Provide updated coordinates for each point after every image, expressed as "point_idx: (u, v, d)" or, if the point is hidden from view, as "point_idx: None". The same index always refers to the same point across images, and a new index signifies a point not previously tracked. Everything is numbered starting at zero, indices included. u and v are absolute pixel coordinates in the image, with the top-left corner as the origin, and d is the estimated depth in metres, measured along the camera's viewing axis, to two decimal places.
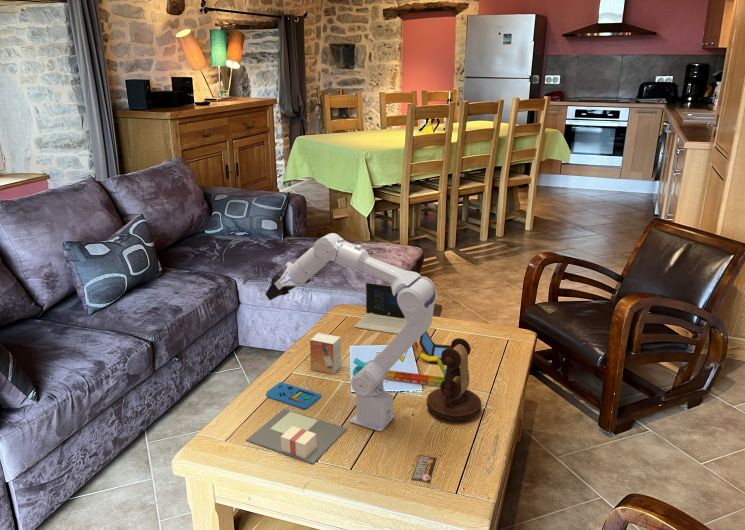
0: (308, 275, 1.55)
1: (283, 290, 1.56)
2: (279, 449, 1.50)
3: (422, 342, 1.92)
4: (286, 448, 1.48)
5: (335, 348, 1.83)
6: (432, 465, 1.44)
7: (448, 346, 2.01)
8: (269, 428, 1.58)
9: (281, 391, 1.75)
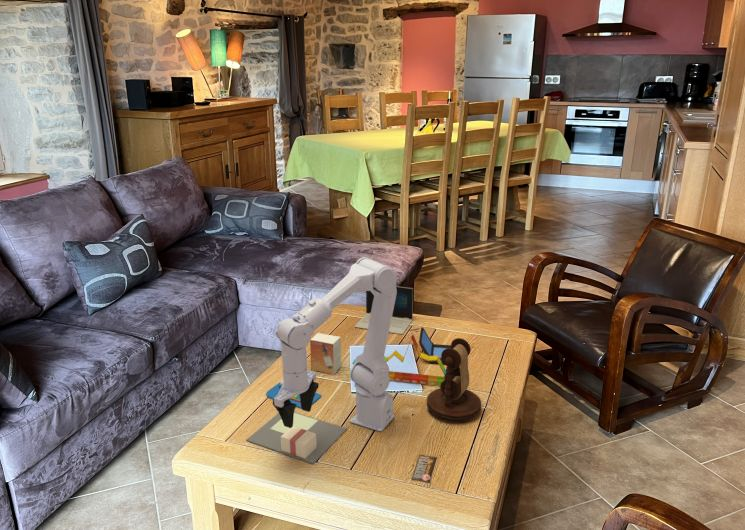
0: (299, 374, 1.40)
1: (288, 406, 1.39)
2: (279, 449, 1.50)
3: (422, 343, 1.91)
4: (286, 448, 1.48)
5: (335, 348, 1.83)
6: (432, 465, 1.44)
7: (447, 346, 2.01)
8: (269, 428, 1.58)
9: None
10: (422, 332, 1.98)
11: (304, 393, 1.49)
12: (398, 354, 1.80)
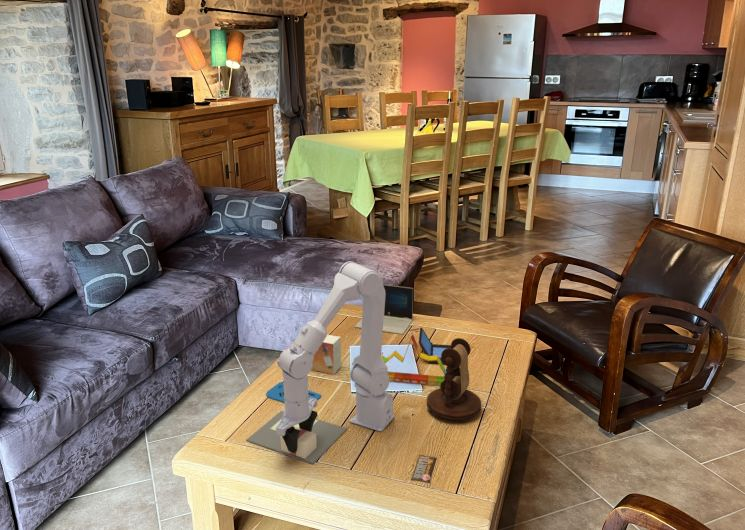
0: (300, 403, 1.43)
1: (292, 432, 1.43)
2: (279, 449, 1.50)
3: (421, 343, 1.91)
4: (286, 448, 1.48)
5: (335, 348, 1.83)
6: (432, 465, 1.44)
7: (446, 346, 2.01)
8: (269, 428, 1.58)
9: (281, 391, 1.75)
10: (421, 332, 1.97)
11: (303, 422, 1.50)
12: (398, 354, 1.80)
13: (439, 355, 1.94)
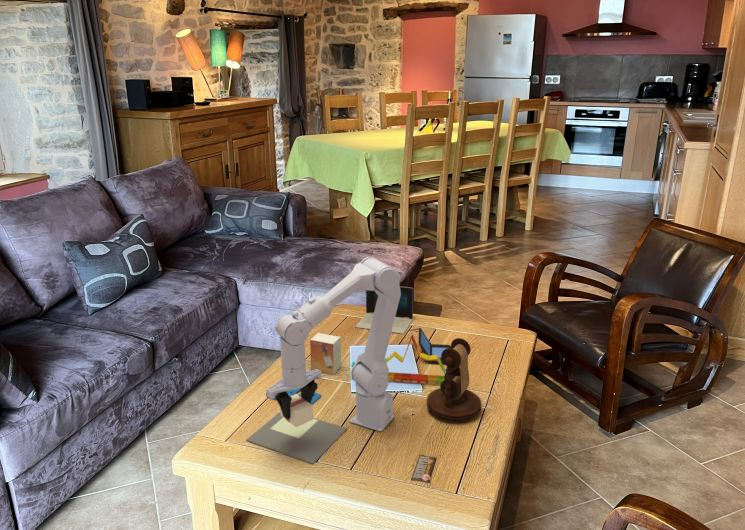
0: (293, 370, 1.43)
1: (283, 397, 1.44)
2: (279, 449, 1.50)
3: (421, 343, 1.91)
4: None
5: (335, 348, 1.83)
6: (432, 465, 1.44)
7: (445, 345, 2.01)
8: (269, 428, 1.58)
9: None
10: (420, 332, 1.97)
11: (304, 391, 1.50)
12: (397, 355, 1.80)
13: (438, 355, 1.94)
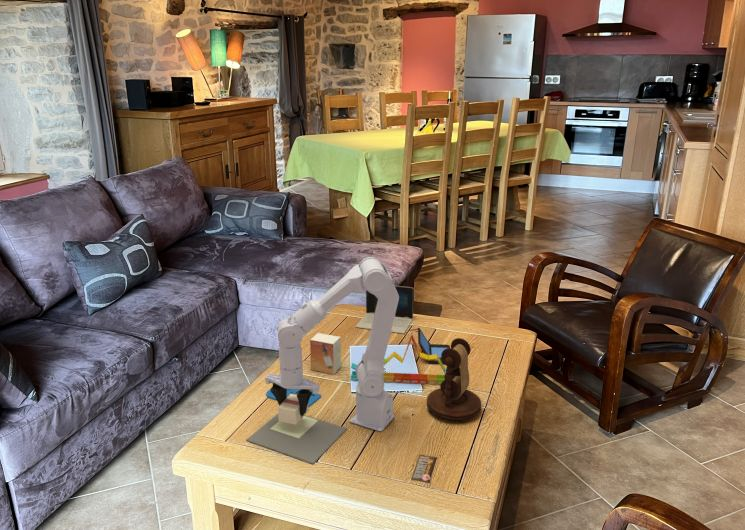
0: (281, 369, 1.52)
1: (274, 388, 1.56)
2: (279, 449, 1.50)
3: (421, 343, 1.91)
4: None
5: (335, 348, 1.83)
6: (432, 465, 1.44)
7: (444, 345, 2.01)
8: (269, 428, 1.58)
9: None
10: (419, 332, 1.97)
11: None
12: (397, 355, 1.80)
13: (438, 355, 1.95)
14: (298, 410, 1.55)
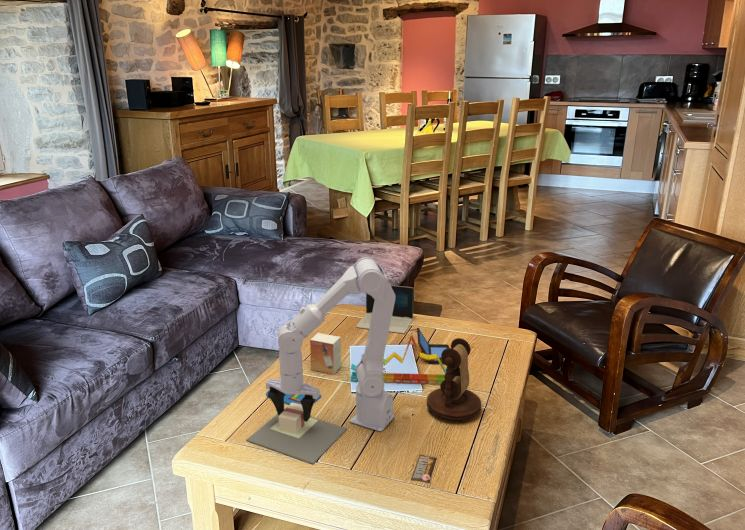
0: (281, 374, 1.53)
1: (271, 392, 1.57)
2: (279, 449, 1.50)
3: (420, 343, 1.91)
4: None
5: (335, 348, 1.83)
6: (432, 465, 1.44)
7: (443, 345, 2.01)
8: (269, 428, 1.58)
9: None
10: (419, 333, 1.97)
11: None
12: (397, 355, 1.79)
13: (438, 355, 1.95)
14: (298, 419, 1.56)
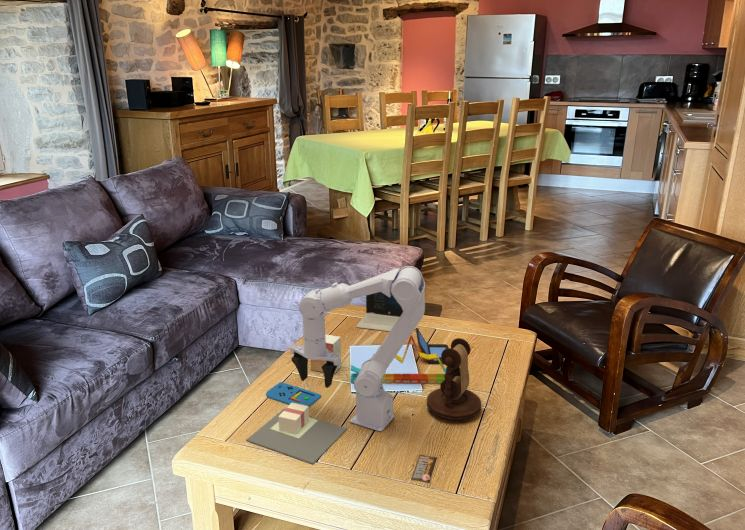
0: (304, 339, 1.57)
1: (294, 357, 1.61)
2: (279, 449, 1.50)
3: (420, 343, 1.91)
4: None
5: (335, 348, 1.83)
6: (432, 465, 1.44)
7: (442, 345, 2.01)
8: (269, 428, 1.58)
9: (281, 391, 1.75)
10: (418, 333, 1.97)
11: None
12: (397, 356, 1.79)
13: None
14: (298, 419, 1.56)
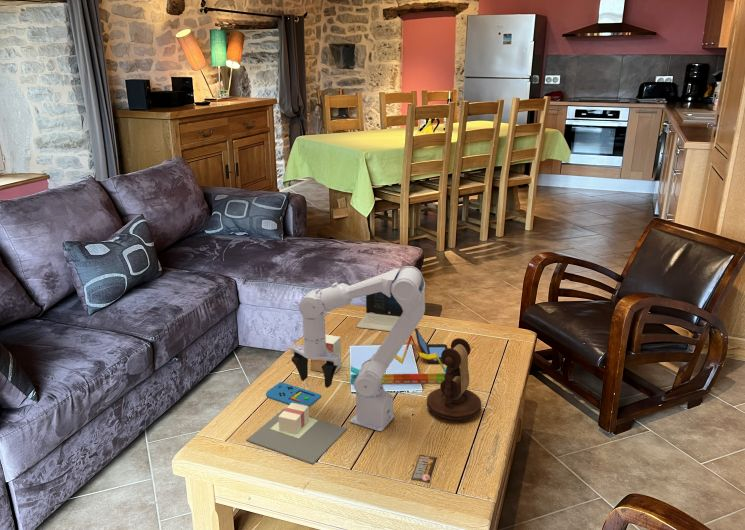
0: (304, 339, 1.57)
1: (295, 357, 1.61)
2: (279, 449, 1.50)
3: (420, 343, 1.91)
4: None
5: (335, 348, 1.83)
6: (432, 465, 1.44)
7: (441, 345, 2.02)
8: (269, 428, 1.58)
9: (281, 391, 1.75)
10: (417, 333, 1.97)
11: None
12: (396, 356, 1.79)
13: (437, 355, 1.95)
14: (298, 419, 1.56)
